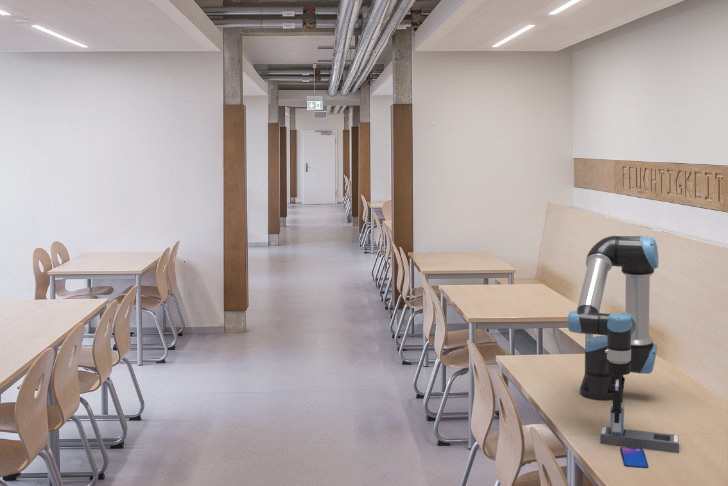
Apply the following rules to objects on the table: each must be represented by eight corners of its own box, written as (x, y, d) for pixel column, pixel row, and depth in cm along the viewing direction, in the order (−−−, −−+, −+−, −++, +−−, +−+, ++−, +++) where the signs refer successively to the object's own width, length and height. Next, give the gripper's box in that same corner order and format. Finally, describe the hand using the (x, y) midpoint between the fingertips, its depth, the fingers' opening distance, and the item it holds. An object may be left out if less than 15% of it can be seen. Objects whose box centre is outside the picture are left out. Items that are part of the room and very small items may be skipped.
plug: (611, 438, 256) (611, 402, 254) (623, 439, 254) (624, 403, 253) (610, 442, 252) (610, 405, 251) (622, 443, 251) (623, 407, 249)
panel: (602, 434, 259) (602, 425, 258) (678, 443, 250) (678, 434, 249) (600, 443, 251) (600, 433, 251) (678, 452, 242) (678, 443, 242)
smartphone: (623, 465, 233) (619, 446, 247) (623, 468, 233) (619, 449, 247) (649, 467, 231) (643, 448, 245) (649, 470, 231) (643, 450, 245)
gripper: (608, 353, 259) (607, 419, 262) (604, 366, 244) (603, 436, 246) (632, 355, 256) (630, 421, 259) (629, 368, 241) (627, 439, 244)
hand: (617, 428), depth 253 cm, fingers closed on plug, 4 cm apart
